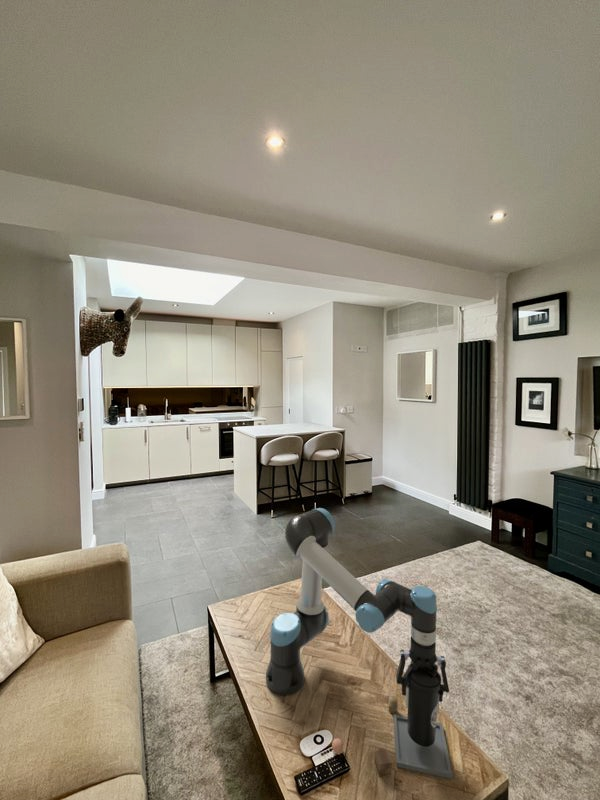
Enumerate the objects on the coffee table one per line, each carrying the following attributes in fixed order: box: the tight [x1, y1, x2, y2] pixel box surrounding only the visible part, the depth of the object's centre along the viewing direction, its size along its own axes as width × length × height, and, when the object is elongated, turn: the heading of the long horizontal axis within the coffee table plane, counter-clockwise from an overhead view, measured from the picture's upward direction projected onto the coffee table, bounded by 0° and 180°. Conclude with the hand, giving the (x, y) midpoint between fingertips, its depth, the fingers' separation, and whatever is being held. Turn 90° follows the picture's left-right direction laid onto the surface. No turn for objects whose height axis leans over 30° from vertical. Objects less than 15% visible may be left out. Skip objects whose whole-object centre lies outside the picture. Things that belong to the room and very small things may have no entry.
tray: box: [392, 714, 454, 780], centre depth 112 cm, size 16×16×1 cm
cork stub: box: [388, 695, 399, 716], centre depth 124 cm, size 3×3×4 cm
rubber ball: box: [331, 737, 344, 755], centre depth 110 cm, size 4×4×4 cm
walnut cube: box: [374, 748, 393, 778], centre depth 105 cm, size 4×4×4 cm
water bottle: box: [406, 662, 442, 747], centre depth 111 cm, size 10×10×23 cm
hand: (421, 706), depth 112 cm, fingers closed on water bottle, 8 cm apart
